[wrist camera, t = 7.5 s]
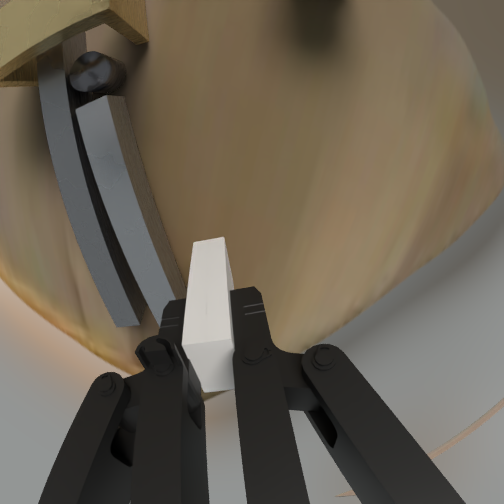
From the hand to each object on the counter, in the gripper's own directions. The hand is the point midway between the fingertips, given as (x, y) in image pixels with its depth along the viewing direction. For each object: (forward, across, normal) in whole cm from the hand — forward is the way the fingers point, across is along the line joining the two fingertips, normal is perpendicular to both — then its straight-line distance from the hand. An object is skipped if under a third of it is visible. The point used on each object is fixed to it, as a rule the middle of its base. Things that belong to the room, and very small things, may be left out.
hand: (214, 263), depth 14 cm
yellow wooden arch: (+7, -6, +15) cm, 17 cm away
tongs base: (+6, -6, +5) cm, 10 cm away
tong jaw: (+5, -5, +2) cm, 7 cm away
